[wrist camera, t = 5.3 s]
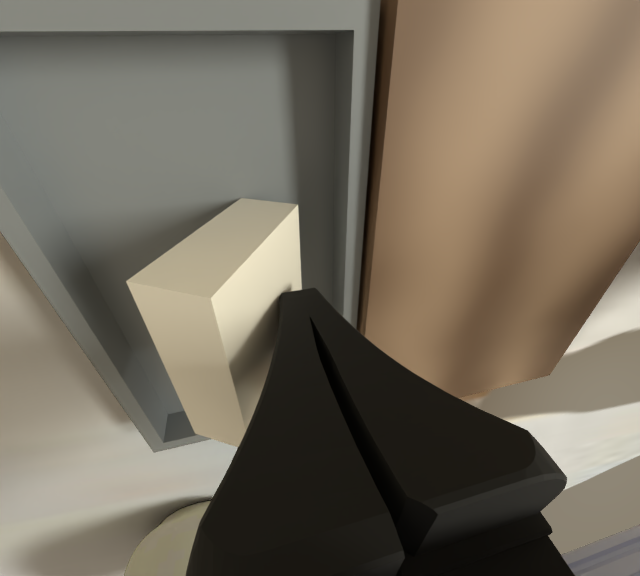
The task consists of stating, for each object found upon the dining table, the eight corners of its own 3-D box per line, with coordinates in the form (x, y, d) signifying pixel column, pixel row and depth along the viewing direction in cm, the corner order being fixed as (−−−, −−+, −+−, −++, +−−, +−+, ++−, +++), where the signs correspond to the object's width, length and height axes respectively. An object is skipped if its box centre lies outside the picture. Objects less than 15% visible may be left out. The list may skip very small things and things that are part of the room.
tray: (352, 6, 9) (380, -5, 7) (339, 375, 18) (350, 405, 17) (-79, 2, 7) (-172, -16, 5) (160, 414, 16) (153, 452, 15)
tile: (210, 298, 6) (126, 281, 6) (251, 451, 10) (195, 433, 10) (298, 204, 10) (241, 197, 10) (304, 338, 13) (261, 329, 14)
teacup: (169, 557, 28) (153, 703, 21) (92, 520, 21) (36, 718, 15) (319, 503, 29) (345, 627, 22) (292, 451, 22) (320, 607, 16)
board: (718, -31, 10) (836, -52, 8) (519, 345, 21) (549, 375, 19) (361, -46, 8) (405, -80, 6) (342, 385, 19) (356, 423, 17)
